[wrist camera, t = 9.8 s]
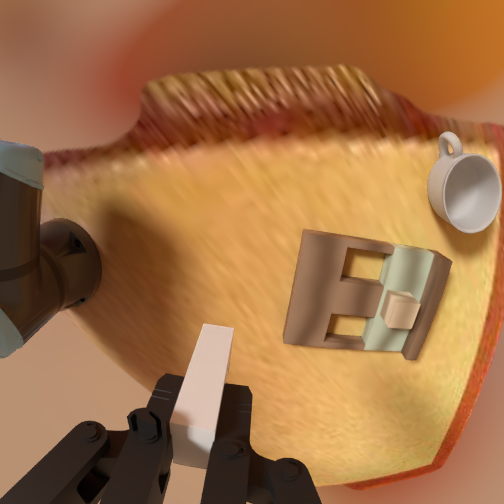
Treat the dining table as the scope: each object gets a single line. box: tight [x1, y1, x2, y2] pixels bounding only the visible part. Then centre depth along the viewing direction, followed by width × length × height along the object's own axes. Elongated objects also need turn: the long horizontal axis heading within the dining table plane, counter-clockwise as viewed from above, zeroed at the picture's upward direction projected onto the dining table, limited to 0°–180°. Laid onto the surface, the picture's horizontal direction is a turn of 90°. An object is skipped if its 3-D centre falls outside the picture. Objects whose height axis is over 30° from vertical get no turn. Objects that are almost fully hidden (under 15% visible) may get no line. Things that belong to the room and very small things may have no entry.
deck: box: [283, 229, 452, 360], centre depth 42 cm, size 22×17×5 cm
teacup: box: [427, 132, 502, 234], centre depth 35 cm, size 14×11×8 cm
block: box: [380, 290, 420, 329], centre depth 40 cm, size 4×4×4 cm
